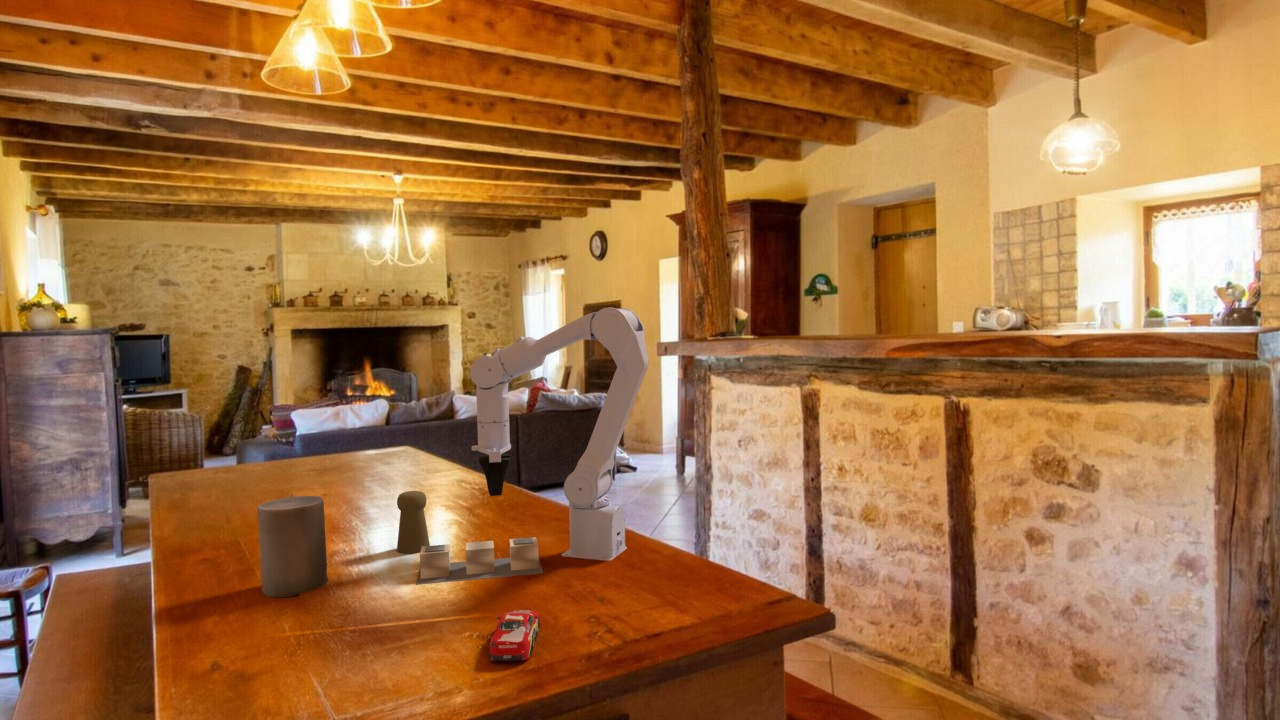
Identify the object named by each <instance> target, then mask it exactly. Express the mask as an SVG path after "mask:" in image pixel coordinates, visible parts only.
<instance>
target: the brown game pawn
mask: <svg viewBox="0 0 1280 720" xmlns="http://www.w3.org/2000/svg"><path fill="white" fill-rule="evenodd" d="M396 505H397V509H399V512H400V515H399V523H398V526H399V527H398V535H397V542H396V543H397V544H396V545H397V547H396V552H397V553H398V554H403V555H413V554H420V552H421V548H422V546H431V543H430V537H429V532H428V526H427V521H426V514H425V510H424V509H425V508H426V506H427V495H426V494H425V493H424V492H423V491H420V490H410V491H409V490H407V491H404V492H401V493H400V494H399V495H398V497H397V501H396Z"/></svg>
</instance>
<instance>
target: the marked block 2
mask: <svg viewBox="0 0 1280 720" xmlns="http://www.w3.org/2000/svg"><path fill="white" fill-rule="evenodd" d="M538 555H539V544H538V540H537V537H536V536H535V537H521V538H509V558H510V565H511V570H523V569H534V568H539V560H538Z"/></svg>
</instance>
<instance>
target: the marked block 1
mask: <svg viewBox="0 0 1280 720" xmlns="http://www.w3.org/2000/svg"><path fill="white" fill-rule="evenodd" d="M450 563H451V546H450V544H438V545H435V544H434V545H430V546H422V548H421V552H420V553H419V565H420V566H419V570H420V572H421V579H423V578H435V577H446V576H450Z"/></svg>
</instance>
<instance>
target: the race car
mask: <svg viewBox="0 0 1280 720" xmlns="http://www.w3.org/2000/svg"><path fill="white" fill-rule="evenodd" d="M495 619H496V620H498V622H497V625H496V628H495V631H494V632H493V635H492V637H491V640H490V644H489V659H490V661H493V662H510V661H511V662H513V661H514V662H515V661H516V662H518V661H519V662H520V661H526V660H528V659H529V658H531V657H532V654H533V649H534V647H535V644H536V640H537V637H538V634H539V630H540V624H541V623H540V622H541V621H540V614H539V613H538V612H536V611H533V610H529V609H516V610H512V611H507V612H505V613H504V614H502V615H501V617H500V616H496V617H495Z"/></svg>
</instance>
